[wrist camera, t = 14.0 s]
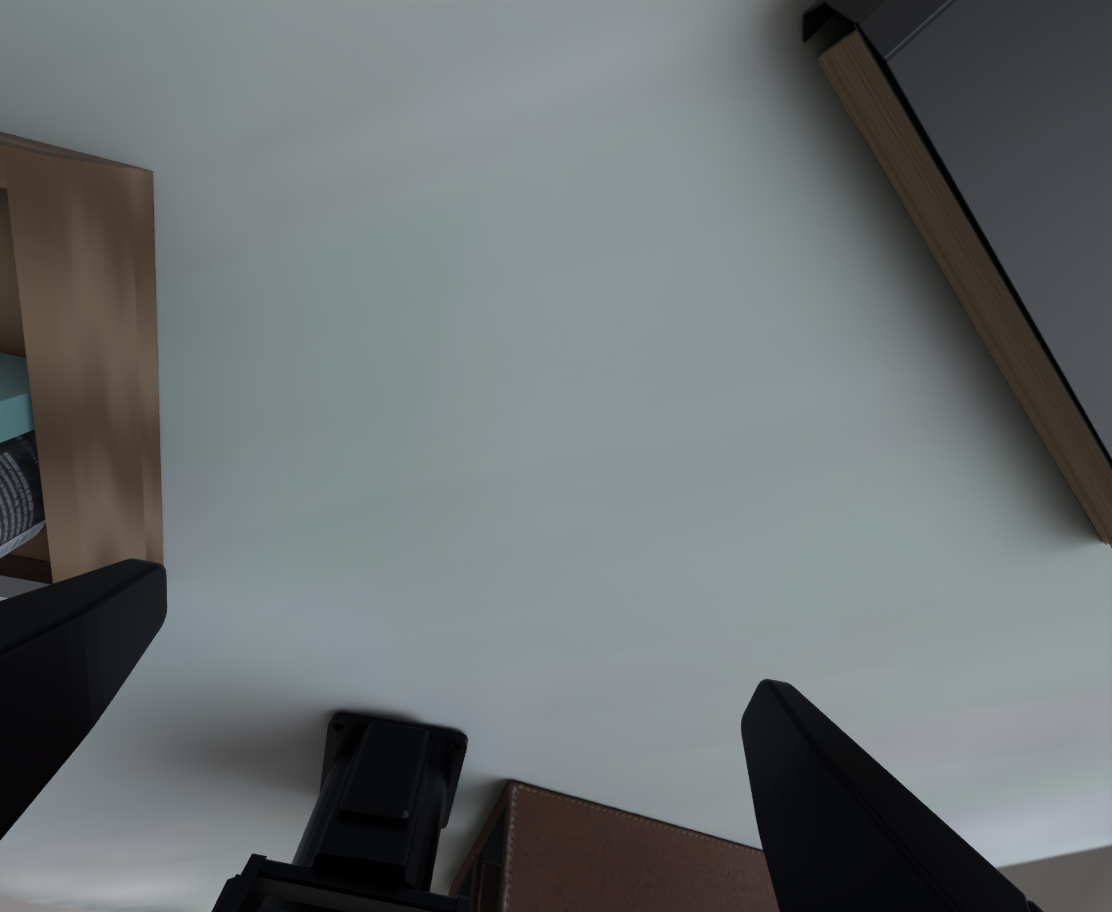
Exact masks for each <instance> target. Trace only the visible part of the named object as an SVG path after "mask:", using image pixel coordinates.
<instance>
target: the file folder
mask: <svg viewBox="0 0 1112 912" xmlns="http://www.w3.org/2000/svg"><path fill="white" fill-rule="evenodd" d="M837 12H839V13H840V14H842V15H844V16H845V17H847V18H848V19H850V20H851V21H853V22H854V23H855V24H854V26H855V27H856V29H855V30H854V31H852V32H851V33H849V34H848V35H847V36H845V37H843V38H842V39H841V40H839V41H838V42H837V43H835V44H834V45H832V46H831V47H829V48H828V49H827V50H826V51H824V52H823V53H822V54H821V55H820V56H819V57H818V58H817V60H818V62H819V64H820V66H821V68H822V69H823V71H824V73H825V75H826V76H827V78H828V80H829V82H830V83H831V85H832V87H833V89H834V90H835V92H836V94H837V95H838V97H839V99H840V101H841V102H842V104H843V106H844V108H845V109H846V111H847V113H848V114H849V116H850V117H851V119H852V120H853V122H854V123H855V125H856V126H857V128H858V129H859V131H860V132H861V134H862V136H863V137H864V139H865V141H866V142H867V144H868V146H869V147H870V149H871V151H872V152H873V154H874V155H875V157H876V159H877V160H878V162H879V164H880V165H881V167H882V169H883V170H884V172H885V174H886V176H887V177H888V179H889V181H890V182H891V184H892V186H893V188H894V189H895V191H896V193H897V194H898V196H899V198H900V200H901V201H902V203H903V205H904V206H905V208H906V210H907V211H908V213H909V215H910V217H911V218H912V220H913V222H914V223H915V225H916V227H917V229H918V230H919V232H920V234H921V235H922V237H923V239H924V241H925V242H926V244H927V246H928V247H929V249H930V251H931V253H932V254H933V256H934V258H935V259H936V261H937V263H938V264H939V266H940V268H941V269H942V271H943V273H944V274H945V276H946V278H947V279H948V281H949V283H950V285H951V286H952V288H953V290H954V291H955V293H956V295H957V297H958V298H959V300H960V302H961V303H962V305H963V307H964V309H965V310H966V312H967V314H968V316H969V317H970V319H971V321H972V322H973V324H974V326H975V328H976V330H977V331H978V333H979V335H980V337H981V338H982V340H983V342H984V344H985V345H986V347H987V349H988V350H989V352H990V354H991V355H992V357H993V359H994V360H995V362H996V364H997V365H998V367H999V369H1000V370H1001V372H1002V374H1003V375H1004V377H1005V379H1006V380H1007V382H1008V384H1009V385H1010V387H1011V389H1012V390H1013V392H1014V394H1015V395H1016V397H1017V399H1018V400H1019V402H1020V404H1021V405H1022V407H1023V409H1024V410H1025V412H1026V414H1027V415H1028V417H1029V419H1030V420H1031V422H1032V424H1033V425H1034V427H1035V429H1036V430H1037V432H1038V434H1039V435H1040V437H1041V439H1042V440H1043V442H1044V444H1045V445H1046V447H1047V449H1048V450H1049V452H1050V454H1051V455H1052V457H1053V459H1054V460H1055V462H1056V464H1057V465H1058V467H1059V469H1060V470H1061V472H1062V474H1063V475H1064V477H1065V479H1066V480H1067V482H1068V484H1069V485H1070V487H1071V489H1072V490H1073V492H1074V494H1075V495H1076V497H1077V499H1078V500H1079V502H1080V504H1081V505H1082V507H1083V508H1084V510H1085V512H1086V513H1087V515H1088V517H1089V518H1090V520H1091V522H1092V523H1093V525H1094V527H1095V528H1096V530H1097V532H1098V533H1099V535H1100V537H1101V538H1102V540H1103V542H1104V543H1105V544H1110V546H1111V547H1112V0H817V1H816V2H815V3H814V4H812V5H811V6H810V7H809V8H808V9H807V10H806V11H805V12H804V14H803V42H804V43H805V42H806V41H807V40H808V39H809V38H810V37H811V36H812V35H813V34H814V33H815V32H817V31H818V30H819V29H820V28H821V27H822V26H823V25H824V24H825V23H826V22H827V21H828V20H829V19H830V18H831V17H832V16H834V15H835V14H836V13H837Z"/></svg>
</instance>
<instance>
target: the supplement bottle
mask: <svg viewBox="0 0 1112 912" xmlns="http://www.w3.org/2000/svg"><path fill="white" fill-rule="evenodd" d="M45 529H47V527H46V519H45V510H44V502H43V493H42V485H41V476H40V468H39V459H38V451H37V442H36V434H35V429H34V430H32V431H29V432H27V433H24V434H21V435H19V436H16V437H14V438H11V439H9V440H6V441H3V442H1V443H0V558H3V557H5V556H6V554H8V553H9V552H11V551H12V550H14V549H16V548H17V547H19V546H20V545H22V544H25V543H27V542H28V541H30V540H31V539H33V538H34V537H35V536H36V535H38V534H39V533H41V532H42V531H44V530H45Z"/></svg>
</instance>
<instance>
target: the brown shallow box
mask: <svg viewBox="0 0 1112 912" xmlns="http://www.w3.org/2000/svg"><path fill="white" fill-rule="evenodd" d="M0 352H1V353H5V354H10V355H14V356H19V357H23V358H27V366H28V374H29V383H30V391H31V400H32V408H33V417H34V425H35V434H36V442H37V451H38V459H39V468H40V476H41V485H42V493H43V502H44V510H45V519H46V527H47V529H45V530H44V531H42V532H41V533H39V534H38V535H36V536H35V537H34V538H33V539H31V540H30V541H28V542H27V543H25V544H22V545H20V546H19V547H17V548H16V549H14V550H12V551H11V552H9V553H8V554H6V556H5V557H3V558H0V597H6V598H11V597H14V596H17V595H20V594H23V593H26V592H29V591H32V590H35V589H38V588H41V587H44V586H47V585H50V584H53V583H56V582H59V581H62V580H65V579H68V578H71V577H75V576H78V575H81V574H84V573H87V572H90V571H93V570H96V569H99V568H102V567H105V566H108V565H111V564H114V563H117V562H120V561H123V560H126V559H130V558H136V559H142V560H147V561H153V562H158V563H160V564H162V565H163V539H162V502H161V465H160V428H159V391H158V354H157V317H156V280H155V243H154V206H153V171H150V170H146V169H142V168H138V167H134V166H131V165H127V164H123V163H119V162H115V161H111V160H107V159H103V158H99V157H96V156H92V155H88V154H84V153H80V152H76V151H72V150H68V149H65V148H61V147H57V146H53V145H49V144H45V143H41V142H37V141H34V140H30V139H26V138H22V137H18V136H14V135H10V134H6V133H3V132H0Z"/></svg>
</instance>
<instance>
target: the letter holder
mask: <svg viewBox="0 0 1112 912" xmlns="http://www.w3.org/2000/svg"><path fill="white" fill-rule="evenodd" d="M457 895H459V896H464V897H469V898H470V908H469V912H780V911H779V907H778V904H777V900H776V896H775V893H774V889H773V885H772V881H771V878H770V874H769V870H768V867H767V863H766V859H765V855H764V852H763V851H761V850H758V849H754V848H750V847H746V846H743V845H740V844H736V843H733V842H729V841H726V840H722V839H719V838H715V837H713V836H708V835H705V834H702V833H698V832H695V831H690V830H688V829H683V828H680V827H676V826H672V825H669V824H666V823H663V822H659V821H656V820H651V819H649V818H644V817H642V816H638V815H634V814H630V813H626V812H623V811H621V810H617V809H613V808H609V807H605V806H602V805H599V804H594V803H591V802H588V801H584V800H581V799H576V798H573V797H570V796H566V795H562V794H558V793H555V792H551V791H548V790H545V789H541V788H537V787H534V786H530V785H527V784H523V783H520V782H516V781H513V780H510V781H509V783H508V785H507V787H506V789H505V791H504V792H503V794H502V796H501V798H500V799H499V801H498V803H497V805H496V807H495V809H494V810H493V812H492V814H491V816H490V818H489V819H488V821H487V823H486V825H485V826H484V828H483V830H482V832H481V834H480V835H479V837H478V839H477V841H476V843H475V844H474V846H473V848H472V850H471V851H470V853H469V855H468V857H467V858H466V860H465V862H464V864H463V865H462V867H461V869H460V871H459V873H458V875H457V877H456V878H455V880H454V882H453V884H452V886H451V889H450V891H449V895H448V896H450V897H456V896H457Z"/></svg>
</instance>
